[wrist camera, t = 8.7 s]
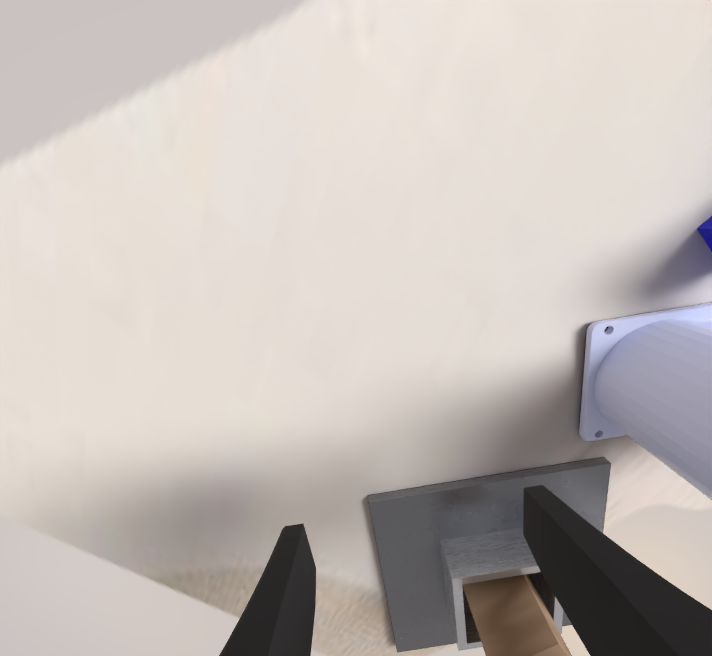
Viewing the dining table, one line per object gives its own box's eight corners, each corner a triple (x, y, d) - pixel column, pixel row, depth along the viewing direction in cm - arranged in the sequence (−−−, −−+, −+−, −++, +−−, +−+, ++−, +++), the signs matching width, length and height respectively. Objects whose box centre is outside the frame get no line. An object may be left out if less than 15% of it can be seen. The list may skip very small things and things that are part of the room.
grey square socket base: (604, 457, 22) (645, 495, 19) (587, 613, 27) (618, 662, 24) (368, 495, 22) (372, 539, 19) (396, 643, 27) (403, 696, 24)
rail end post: (505, 539, 23) (558, 643, 18) (527, 571, 24) (584, 679, 19) (455, 564, 24) (491, 673, 18) (479, 594, 25) (520, 705, 19)
